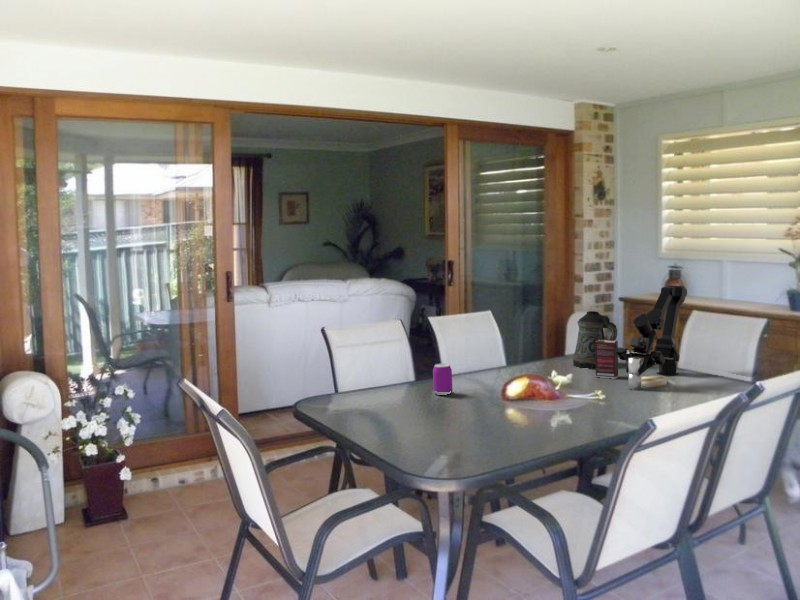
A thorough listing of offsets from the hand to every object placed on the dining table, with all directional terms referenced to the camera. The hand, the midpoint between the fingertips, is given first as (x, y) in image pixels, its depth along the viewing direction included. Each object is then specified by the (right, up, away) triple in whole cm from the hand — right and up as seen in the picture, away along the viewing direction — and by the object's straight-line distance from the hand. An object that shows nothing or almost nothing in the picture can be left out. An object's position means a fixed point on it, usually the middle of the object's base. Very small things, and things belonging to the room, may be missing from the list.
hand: (633, 373), depth 290 cm
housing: (+1, -6, +2) cm, 7 cm away
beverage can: (-75, -9, +6) cm, 76 cm away
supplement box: (-4, -4, +23) cm, 23 cm away
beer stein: (-3, -1, +47) cm, 47 cm away
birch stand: (+10, -5, +9) cm, 14 cm away
